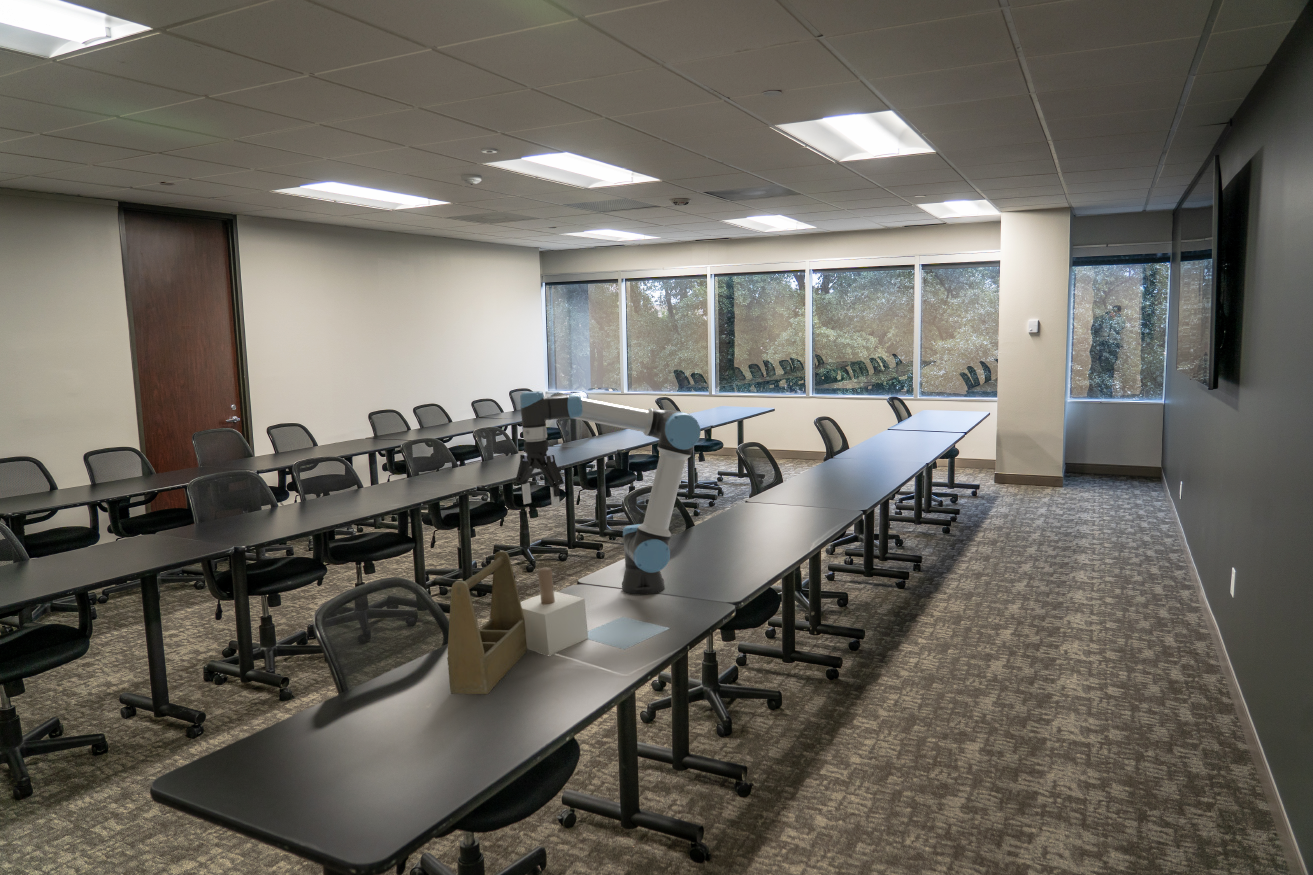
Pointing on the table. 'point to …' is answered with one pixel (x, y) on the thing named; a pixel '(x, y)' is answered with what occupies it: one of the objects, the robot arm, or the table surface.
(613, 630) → the mat
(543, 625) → the cover box
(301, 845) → the table surface
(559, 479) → the robot arm
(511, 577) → the caddy
